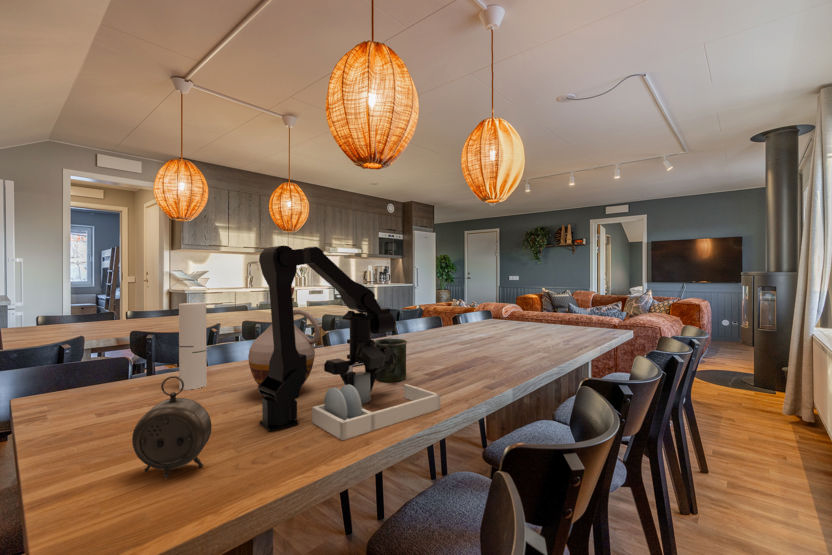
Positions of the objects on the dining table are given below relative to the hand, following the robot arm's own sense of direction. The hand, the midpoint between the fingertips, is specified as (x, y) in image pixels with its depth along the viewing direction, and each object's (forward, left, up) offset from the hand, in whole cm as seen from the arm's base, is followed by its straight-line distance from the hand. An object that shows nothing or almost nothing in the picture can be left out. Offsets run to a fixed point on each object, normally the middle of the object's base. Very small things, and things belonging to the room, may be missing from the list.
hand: (360, 394), depth 104 cm
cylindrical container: (-30, +45, -2) cm, 54 cm away
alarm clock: (-45, -11, -2) cm, 46 cm away
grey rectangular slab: (0, 0, -2) cm, 2 cm away
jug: (-12, +20, -2) cm, 23 cm away
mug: (+19, +11, -2) cm, 22 cm away
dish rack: (-3, -12, -2) cm, 13 cm away
